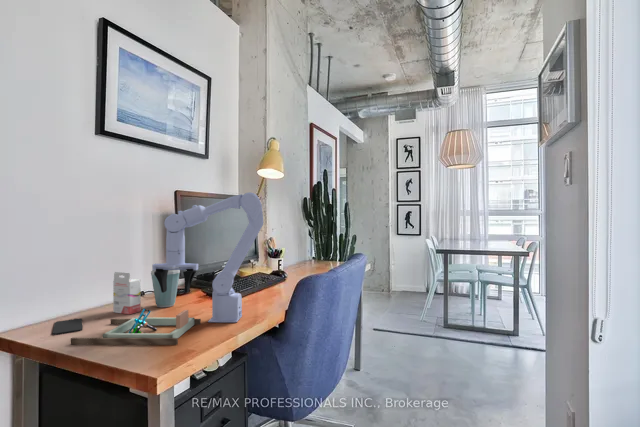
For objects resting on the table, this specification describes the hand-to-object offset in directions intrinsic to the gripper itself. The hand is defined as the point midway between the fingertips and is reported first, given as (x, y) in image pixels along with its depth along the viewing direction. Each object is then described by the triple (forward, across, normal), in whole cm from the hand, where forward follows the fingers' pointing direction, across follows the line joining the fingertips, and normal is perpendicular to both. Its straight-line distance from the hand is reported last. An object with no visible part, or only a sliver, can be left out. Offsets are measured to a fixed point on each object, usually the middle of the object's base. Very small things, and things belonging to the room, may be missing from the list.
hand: (175, 291), depth 114 cm
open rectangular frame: (+10, -2, -11) cm, 15 cm away
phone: (+10, -32, -5) cm, 34 cm away
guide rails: (+10, -6, -11) cm, 16 cm away
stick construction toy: (+10, -5, -12) cm, 16 cm away
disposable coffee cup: (+10, -13, +21) cm, 27 cm away
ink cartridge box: (+10, -23, +12) cm, 28 cm away
